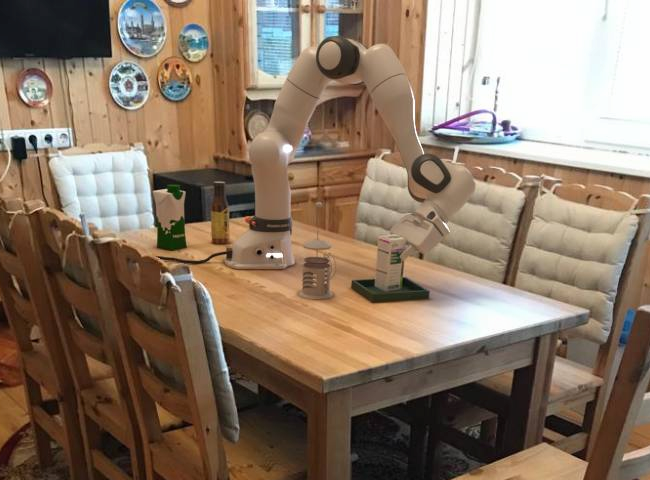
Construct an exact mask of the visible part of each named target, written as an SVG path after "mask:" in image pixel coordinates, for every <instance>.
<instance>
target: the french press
mask: <svg viewBox="0 0 650 480" xmlns="http://www.w3.org/2000/svg"><path fill="white" fill-rule="evenodd" d="M314 207H316V208H317V224H319V222H320V221H319V219H320V217H319V216H320V208H322V207H323V203H322V202H320V201H317V202H316V203H315V205H314ZM316 231H317V234H316V235H317V236H316V238H312V239H308V240H307V241H305V242H304V243H302V247H303V248H305V249H307V250H312V251H313V250H314V251H316V254H318V252H319V251H326V250H330V249H331V248H332V247H333V245H332V244H331V243H330V242H329V241H326V240H324V239H322V238H319V227H317V229H316ZM326 256H327V257H326ZM330 256H331V257H332V259H333V261H334V265H335V266H334V272H333V275H332V276H331V274H332V269H333V268H332V267H333V263H332V260H331V258H330ZM303 261H304V262H305V263H303V264H302V276H301V277H302V280H301V283H302V284H301V290H300V291H299V292H298V295H299V297H302V298H305V299H308V300H309V299H310V300H325V299H330V298H332V297H333V296H334V294H333V292H331V291H330V289H331V280H332V279H333V278H334V276H335V274H336V272H337V262H336V259H335V257H334V255H333V254H332V253H331V252H328V254H327V253H324V255H323V257H321V256H307V257H305V258H304V259H303ZM325 282H326V283H325Z"/></svg>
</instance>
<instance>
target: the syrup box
mask: <svg viewBox="0 0 650 480" xmlns="http://www.w3.org/2000/svg"><path fill="white" fill-rule="evenodd" d="M406 247H407V245H406V238H404V237H402V236H399V235H395V234H393V235H391V234H387V235H386V234H385V235H378V236H377V248H376V249H377V250H376V263H375V273H374V274H375V275H374V279H375V287H377V288H379V289H381V290H383V291H386V292H388V291H393V290H400V289H402V280H403V277H404V268H405V260H404V261H402V260H401V259H400V258H399V257H398V255H399V254H400V253H401V252H404V251H405V250H406V249H407V248H406Z"/></svg>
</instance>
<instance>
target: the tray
mask: <svg viewBox="0 0 650 480" xmlns="http://www.w3.org/2000/svg"><path fill="white" fill-rule="evenodd" d="M350 283H351V285H350V288H351V289H352V290H353V291H355V292H356V293H357V294H358V295H360V296H361V297H363V298H365V299H366V300H367V301H369V302H370V303H372V304H377V303H390V302H391V303H393V302H407V301H408V302H409V301H421V300H430V293H431V291H430V289H427V288H426V287H424V286H422V285H420V284H419V283H417V282H416V281H413V280H412V279H410V278H408V277H407V276H403V280H402V289H400V290H393V291H388V292H386V291H383V290H381V289H379V288H377V287H375V278H366V279H365V278H364V279H363V278H362V279H351V282H350Z"/></svg>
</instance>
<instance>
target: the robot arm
mask: <svg viewBox="0 0 650 480" xmlns="http://www.w3.org/2000/svg"><path fill="white" fill-rule="evenodd" d="M333 81H335V82H337V83H339V84H344V85H345V84H346V85H349V86H361V85H364V86H365V87H366V89H367V91H368V94H369V96H370V98H371V100H372V102H373V105H374V106H375V108H376V111H377V112H378V113H379V115H380V117H381V119H382V120H383V123H384V124H385V126H386V128H387V129H388V131H389V132H390V134H391V136H392V138H393V140H394V142H395V145H396V147H397V150H398V152H399V155H400V157H401V160H402V162H403V164H404V167H405V170H406V173H407V191H408V193H409V196H410V197H411V198H412V199H413V200H414V201H416V202H418V203H420V205H419V206H418V207H417V208H416V209H414V212H412V213H408V214H405V215H404V216H403V217H401V218H400V219H399V220H398V221H396V223H395V224H394V225H393V226H392V227H391V228H390V230H389V235H393V234H395V235H399V236H402V237H404V238H406V247H407V248H405V251H404V252H401V253H400V254H399V255H398V257H399V258H400V259H401V260H402V261H404V262H405V260H406V259H408V258H409V257H411V256H412V255H414V254H415V253H416V252H419V253H420V254H421V255H428V254H429V253H431V252H432V251H433V250H434V249H435V248H436V247H437V246H438V245H439V244H440V243H441V241H442V240H443V238H447V236H448V235H449V234H450V229H449V227H448V225H447V224H448V223H449V222H450V220H451V218H452V216H453V215H455V214H456V213H457V212H459V211H460V210H461V209H462V208H463V207H464V206H465V205H466V203H468V201H469V200H470V198H471V197H472V196H473V194H474V193H475V190H476V181H475V177H474V176H473V174H472V173H471V171H470V169H468V168H467V167H466V166H464V165H462V164H461V165H460V164H459V165H457V164H453V163H450V162H448V161H445V160H444V159H441V158H440V157H439V156H438V155H436V154H434V153H425V152H424V149H423V147H422V144H421V141H420V140H419V137H418V134H417V130H416V123H415V97H414V92H413V89H412V85H411V82H410V80H409V78H408V76H407V72H406V71H405V69H404V67H403V64H402V63H401V62H400V60H399V58H398V56H397V54H396V53H395V52H394V51H393V49H392V47H390V45H388V44H386V43H376V44H374V45H372V46H370V47H367V46H366V45H364V44H362V43H360V42H359V41H357V40H355V39H352V38H347V37H344V36H341V35H330V36H328V37H325V38H323V40H321V42H320V43H319V44H318V46H307V47H306V48H304V49H303V50H302V51H301V53H300V54H299V56H298V57H297V59H296V60H295V62H294V63H293V65H292V67H291V68H290V70H289V72H288V74H287V76H286V79H285V80H284V82H283V85H282V87H281V89H280V91H279V94H278V95H277V97H276V100H275V102H274V106H273V109H272V113H271V117H270V120H269V122H268V125H267V127H266V129H265V131H263V132H260V133H258V134H257V135H256V136H255V137H254V138H253V139H252V141H251V142H250V144H249V148H248V159H249V161H250V164H251V165H250V166H251V171H252V172H251V173H252V178H253V179H252V180H253V183H254V184H253V185H254V216H251V217H250V216H249V215H246V216H245V217H244V221H245V223H246V224H247V225H248V227H249V228H248V229H247V230H246V231H245V232H243V233H242V234H241V235H240V236H238V237H237V238H236V239H234V240H233V242H232V245H231V247H225V249H226V250H225V251H219V252H215V253H212V254H211V255H209V256H207V258H205V259H200V260H192V259H181V258H178V257H171V256H160V255H155V256H156V257H158V258H160V259H159V260H160V261H161V260H162V261H173V262H177V263H182V264H190V265H191V264H192V265H193V264H195V265H199V264H200V265H201V264H205V263H207V262H209V261H210V260H212V259H213V258H216V257H218V256H224V255H226V256H225V257H224V258H223V263H224V264H225V265H226V266H228V267H229V268H232V269H234V270H235V269H236V270H284V269H286V268H288V267H291V266H293V265H294V264H296V262H295V257H294V253H293V246H292V232H293V217H292V216H291V212H292V211H291V209H292V206H291V205H292V190H291V187H290V181H289V174H288V165H289V164H290V163H292V161H293V160H294V158H295V156H296V154H297V152H298V149H299V147H300V145H301V142H302V140H303V137H304V135H305V132H306V129H307V126H308V124H309V123H310V120H311V118H312V117H313V114H314V112H315V110H316V108H317V106H318V104H319V102H320V100H321V98H322V96H323V94H324V92H325V90H326V88H327V86H328V85H329V84H330V83H331V82H333Z"/></svg>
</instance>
